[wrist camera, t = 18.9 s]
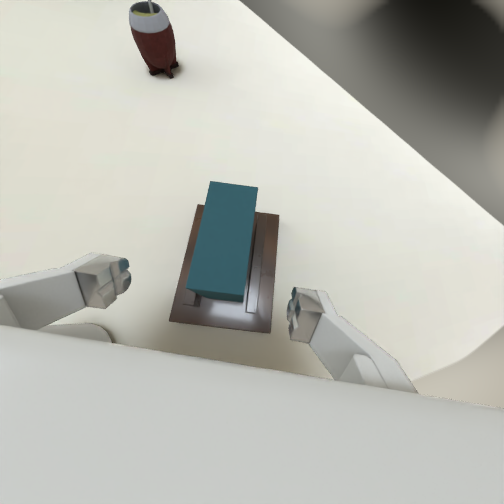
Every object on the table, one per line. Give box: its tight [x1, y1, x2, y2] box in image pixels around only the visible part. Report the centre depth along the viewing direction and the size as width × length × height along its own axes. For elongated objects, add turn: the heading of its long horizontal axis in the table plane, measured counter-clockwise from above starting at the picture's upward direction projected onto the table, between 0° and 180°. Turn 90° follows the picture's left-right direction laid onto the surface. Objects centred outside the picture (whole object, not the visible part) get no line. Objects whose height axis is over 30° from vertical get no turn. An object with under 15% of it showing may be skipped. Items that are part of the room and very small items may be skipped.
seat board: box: [169, 204, 279, 333], centre depth 23 cm, size 16×12×4 cm
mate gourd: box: [129, 0, 179, 78], centre depth 31 cm, size 8×8×15 cm
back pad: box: [185, 181, 258, 303], centre depth 20 cm, size 10×4×9 cm, turn 173°
